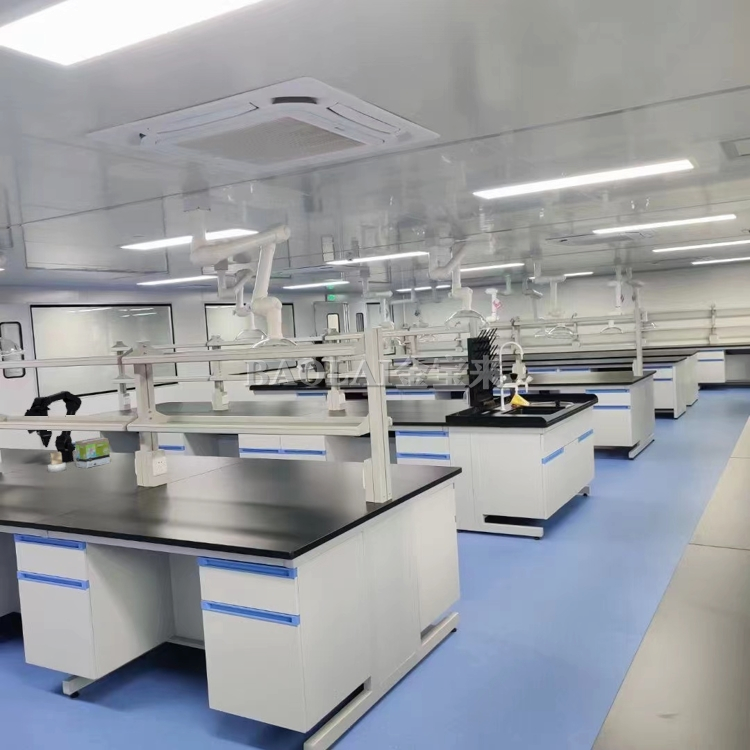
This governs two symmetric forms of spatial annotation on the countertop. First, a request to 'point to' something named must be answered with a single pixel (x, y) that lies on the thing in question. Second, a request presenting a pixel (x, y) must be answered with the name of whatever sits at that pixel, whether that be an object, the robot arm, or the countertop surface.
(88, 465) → the tea box
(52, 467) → the ceramic puck
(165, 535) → the countertop surface
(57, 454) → the birch block
